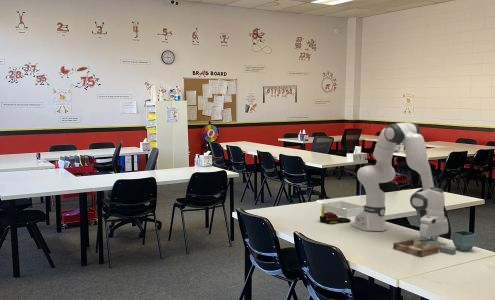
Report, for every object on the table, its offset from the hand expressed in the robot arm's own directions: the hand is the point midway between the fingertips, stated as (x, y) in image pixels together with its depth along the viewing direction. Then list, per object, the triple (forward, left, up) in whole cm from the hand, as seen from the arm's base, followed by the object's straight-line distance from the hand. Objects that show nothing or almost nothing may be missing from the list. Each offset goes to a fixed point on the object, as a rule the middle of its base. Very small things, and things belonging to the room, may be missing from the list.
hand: (434, 243), depth 260 cm
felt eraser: (+11, -4, -2) cm, 12 cm away
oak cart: (0, -6, -2) cm, 6 cm away
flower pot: (+12, +8, -2) cm, 15 cm away
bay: (0, -14, -2) cm, 15 cm away
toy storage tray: (-84, +15, -2) cm, 85 cm away
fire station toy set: (-68, -8, -2) cm, 69 cm away
